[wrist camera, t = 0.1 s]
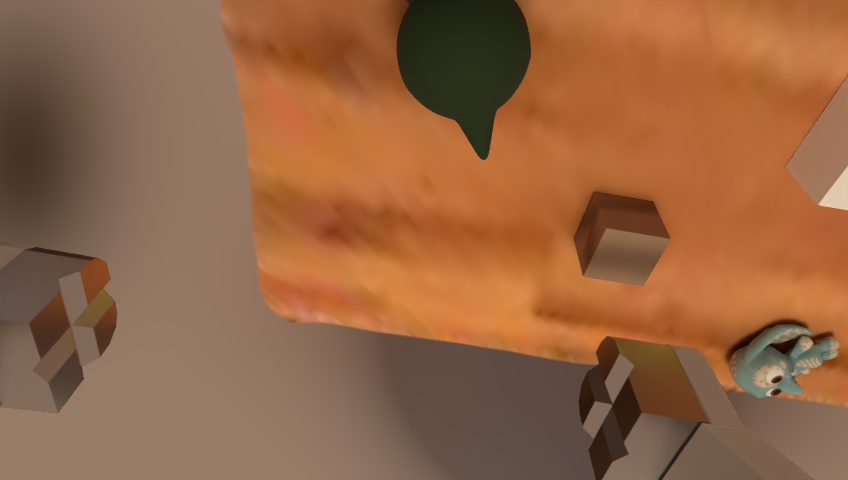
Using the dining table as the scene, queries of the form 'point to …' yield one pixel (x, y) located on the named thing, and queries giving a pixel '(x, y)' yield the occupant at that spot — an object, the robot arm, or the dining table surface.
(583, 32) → the dining table surface
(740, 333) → the dining table surface
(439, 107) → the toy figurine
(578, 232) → the walnut block
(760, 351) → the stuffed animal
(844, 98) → the plinth
